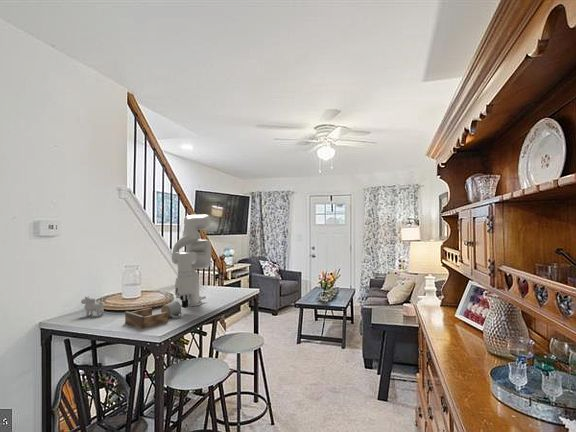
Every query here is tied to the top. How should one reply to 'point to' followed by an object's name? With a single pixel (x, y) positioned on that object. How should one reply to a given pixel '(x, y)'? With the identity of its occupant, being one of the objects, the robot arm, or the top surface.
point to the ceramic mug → (172, 309)
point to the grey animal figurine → (92, 306)
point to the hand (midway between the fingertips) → (185, 307)
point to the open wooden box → (145, 318)
